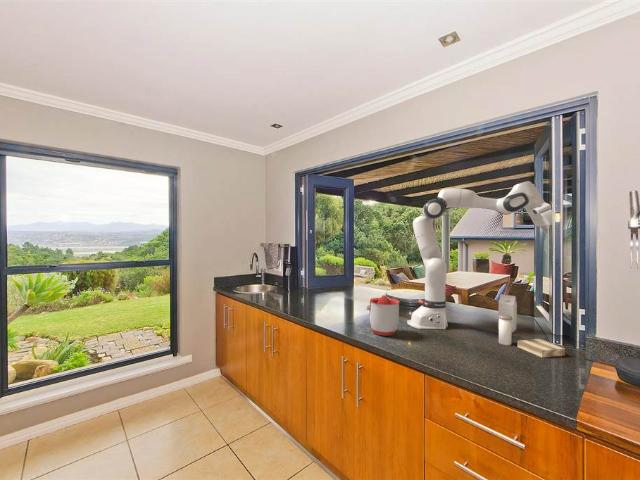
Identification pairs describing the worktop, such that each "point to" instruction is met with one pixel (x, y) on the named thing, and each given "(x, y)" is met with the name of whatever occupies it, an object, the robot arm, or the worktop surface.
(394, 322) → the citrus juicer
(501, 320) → the canister
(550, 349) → the base slab
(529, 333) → the worktop surface
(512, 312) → the milk carton
